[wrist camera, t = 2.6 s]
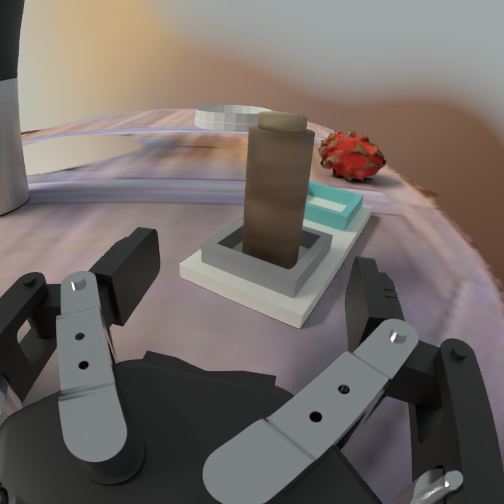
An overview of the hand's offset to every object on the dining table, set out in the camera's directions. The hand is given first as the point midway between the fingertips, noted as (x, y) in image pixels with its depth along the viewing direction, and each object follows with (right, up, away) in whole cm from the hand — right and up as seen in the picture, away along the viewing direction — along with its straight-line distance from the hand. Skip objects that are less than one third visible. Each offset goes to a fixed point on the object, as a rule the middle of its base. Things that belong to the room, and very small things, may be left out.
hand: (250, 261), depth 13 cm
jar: (+1, 0, +13) cm, 13 cm away
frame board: (+4, +2, +18) cm, 19 cm away
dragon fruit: (+16, +12, +38) cm, 43 cm away
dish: (-5, +36, +75) cm, 83 cm away
